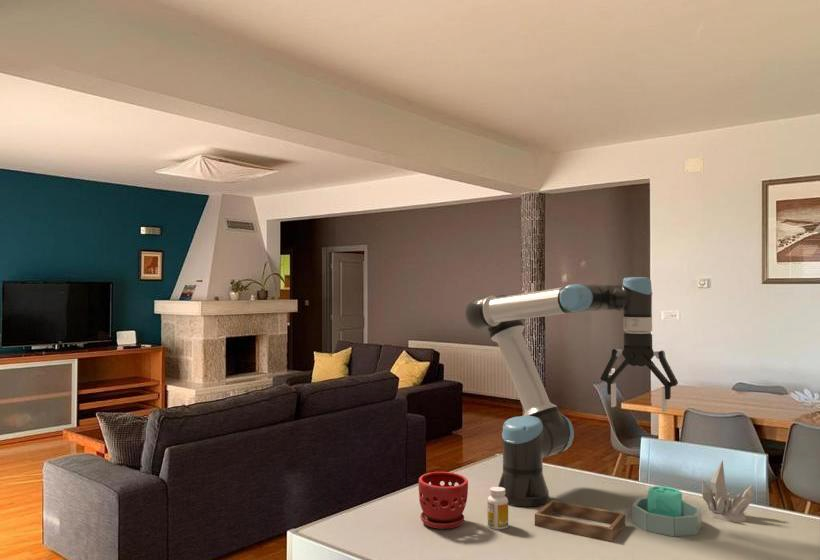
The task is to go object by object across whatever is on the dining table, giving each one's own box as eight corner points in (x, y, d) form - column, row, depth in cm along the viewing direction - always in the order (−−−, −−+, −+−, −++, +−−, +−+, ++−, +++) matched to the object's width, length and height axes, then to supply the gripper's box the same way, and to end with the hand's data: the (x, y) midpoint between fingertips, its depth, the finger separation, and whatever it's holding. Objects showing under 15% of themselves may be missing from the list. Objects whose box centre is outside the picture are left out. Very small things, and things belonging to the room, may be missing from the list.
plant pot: (411, 529, 163) (411, 482, 163) (428, 512, 175) (427, 469, 176) (460, 535, 159) (460, 487, 159) (473, 518, 171) (473, 473, 171)
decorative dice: (680, 528, 161) (680, 497, 161) (647, 523, 164) (647, 492, 164) (682, 518, 168) (681, 488, 168) (650, 513, 171) (650, 484, 172)
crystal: (761, 523, 167) (760, 466, 167) (707, 520, 169) (707, 464, 169) (747, 510, 176) (747, 456, 177) (697, 508, 179) (697, 454, 179)
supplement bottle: (510, 523, 167) (509, 486, 167) (506, 531, 162) (506, 492, 162) (489, 521, 168) (489, 484, 169) (485, 528, 163) (485, 490, 164)
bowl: (627, 527, 164) (627, 510, 164) (641, 509, 177) (641, 493, 177) (694, 540, 155) (694, 522, 155) (704, 520, 169) (703, 503, 169)
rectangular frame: (534, 525, 165) (534, 513, 165) (552, 510, 176) (551, 500, 176) (612, 541, 155) (611, 529, 155) (625, 525, 166) (625, 513, 166)
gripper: (589, 331, 179) (589, 406, 179) (683, 334, 166) (684, 415, 165) (596, 330, 185) (597, 402, 185) (688, 333, 172) (689, 411, 172)
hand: (638, 408), depth 175 cm, fingers open, 13 cm apart
